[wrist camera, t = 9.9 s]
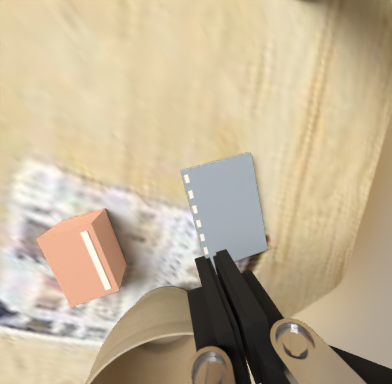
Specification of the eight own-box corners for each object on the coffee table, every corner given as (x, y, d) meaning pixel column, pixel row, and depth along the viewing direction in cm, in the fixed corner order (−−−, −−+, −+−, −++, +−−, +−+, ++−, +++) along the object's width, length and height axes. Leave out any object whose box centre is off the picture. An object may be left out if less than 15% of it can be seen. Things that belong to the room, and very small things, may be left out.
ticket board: (245, 152, 25) (251, 152, 24) (262, 244, 29) (267, 249, 27) (180, 170, 24) (181, 171, 23) (205, 264, 28) (208, 270, 26)
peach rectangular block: (104, 208, 23) (90, 223, 18) (126, 264, 25) (119, 291, 20) (62, 220, 23) (35, 239, 18) (87, 276, 25) (70, 307, 20)
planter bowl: (230, 329, 31) (267, 419, 21) (134, 374, 29) (121, 498, 19) (199, 246, 27) (226, 306, 17) (85, 292, 25) (34, 393, 15)
